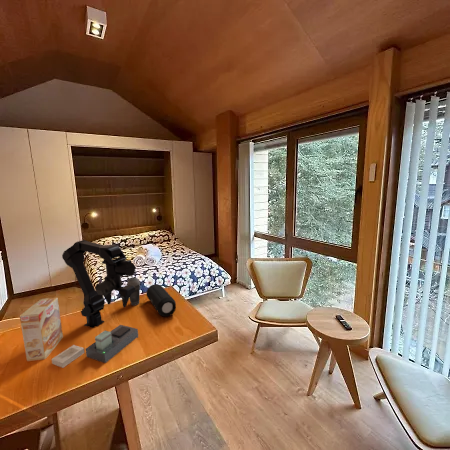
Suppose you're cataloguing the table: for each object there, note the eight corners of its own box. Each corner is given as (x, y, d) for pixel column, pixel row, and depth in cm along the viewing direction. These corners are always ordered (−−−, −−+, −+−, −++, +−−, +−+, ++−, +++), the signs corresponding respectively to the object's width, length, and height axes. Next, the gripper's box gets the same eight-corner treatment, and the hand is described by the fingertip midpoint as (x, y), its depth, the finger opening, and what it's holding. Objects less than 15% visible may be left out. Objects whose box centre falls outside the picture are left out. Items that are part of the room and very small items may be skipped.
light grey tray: (52, 364, 95) (51, 359, 95) (74, 350, 104) (73, 344, 103) (63, 368, 93) (62, 362, 93) (84, 353, 101) (83, 348, 101)
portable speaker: (146, 301, 146) (144, 285, 145) (162, 296, 151) (161, 281, 150) (159, 320, 125) (158, 302, 123) (178, 315, 130) (177, 297, 128)
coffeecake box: (46, 360, 98) (38, 314, 95) (26, 362, 97) (18, 316, 94) (64, 337, 113) (58, 296, 109) (46, 339, 112) (40, 298, 108)
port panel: (86, 357, 99) (85, 347, 98) (121, 332, 115) (120, 323, 114) (105, 364, 95) (104, 353, 94) (138, 337, 112) (137, 327, 111)
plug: (97, 355, 99) (94, 337, 98) (107, 347, 104) (105, 330, 102) (103, 357, 98) (101, 338, 97) (112, 349, 103) (111, 331, 101)
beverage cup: (134, 307, 138) (131, 273, 135) (125, 304, 142) (122, 271, 139) (144, 302, 144) (141, 269, 141) (136, 299, 148) (133, 267, 145)
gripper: (82, 277, 108) (86, 310, 111) (115, 282, 101) (119, 318, 104) (103, 268, 119) (107, 299, 121) (134, 273, 112) (137, 305, 114)
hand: (116, 305), depth 115 cm, fingers open, 9 cm apart
